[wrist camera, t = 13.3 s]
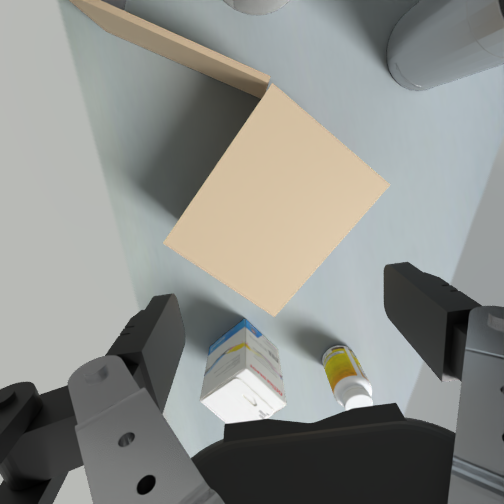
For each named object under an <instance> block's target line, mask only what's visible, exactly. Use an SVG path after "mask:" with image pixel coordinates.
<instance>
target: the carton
mask: <svg viewBox="0 0 504 504" xmlns="http://www.w3.org/2000/svg"><path fill="white" fill-rule="evenodd" d="M389 186H390V184H389V183H388V182H387V181H385V180H384V179H383V178H382V177H381V176H380V175H379V174H377V173H376V172H375V171H374V170H373V169H372V168H370V167H369V166H368V165H367V164H366V163H365V162H363V161H362V160H361V159H360V158H359V157H358V156H357V155H355V154H354V153H353V152H352V151H351V150H350V149H348V148H347V147H346V146H345V145H344V144H343V143H341V142H340V141H339V140H338V139H337V138H336V137H335V136H333V135H332V134H331V133H330V132H329V131H328V130H326V129H325V128H324V127H323V126H322V125H321V124H319V123H318V122H317V121H316V120H315V119H314V118H312V117H311V116H310V115H309V114H308V113H307V112H306V111H304V110H303V109H302V108H301V107H300V106H299V105H297V104H296V103H295V102H294V101H293V100H292V99H290V98H289V97H288V96H287V95H286V94H285V93H284V92H282V91H281V90H280V89H279V88H278V87H277V86H275V85H274V84H273V83H272V84H271V86H270V87H269V89H268V90H267V92H266V93H265V95H264V96H263V98H262V99H261V100H260V102H259V103H258V105H257V106H256V108H255V109H254V111H253V112H252V114H251V115H250V117H249V118H248V119H247V121H246V122H245V124H244V125H243V127H242V128H241V130H240V131H239V133H238V134H237V136H236V137H235V138H234V140H233V141H232V143H231V144H230V146H229V147H228V149H227V150H226V152H225V153H224V155H223V156H222V157H221V159H220V160H219V162H218V163H217V165H216V166H215V168H214V169H213V171H212V172H211V174H210V175H209V176H208V178H207V179H206V181H205V182H204V184H203V185H202V187H201V188H200V190H199V191H198V193H197V194H196V195H195V197H194V198H193V200H192V201H191V203H190V204H189V206H188V207H187V209H186V210H185V212H184V213H183V214H182V216H181V217H180V219H179V220H178V222H177V223H176V225H175V226H174V228H173V229H172V231H171V232H170V233H169V235H168V236H167V238H166V239H165V241H164V242H163V244H165V245H166V246H168V247H169V248H171V249H172V250H174V251H175V252H177V253H178V254H180V255H181V256H183V257H184V258H186V259H188V260H189V261H191V262H192V263H194V264H195V265H197V266H198V267H200V268H201V269H203V270H204V271H206V272H207V273H209V274H210V275H212V276H213V277H215V278H216V279H218V280H219V281H221V282H222V283H224V284H225V285H227V286H228V287H230V288H231V289H233V290H234V291H236V292H237V293H239V294H240V295H242V296H243V297H245V298H246V299H248V300H249V301H251V302H252V303H254V304H255V305H257V306H258V307H260V308H262V309H263V310H265V311H266V312H268V313H269V314H271V315H272V316H274V317H275V316H276V315H277V314H278V313H279V311H280V310H281V309H282V308H283V307H284V306H285V305H286V303H287V302H288V301H289V300H290V299H291V298H292V297H293V295H294V294H295V293H296V292H297V291H298V290H299V289H300V287H301V286H302V285H303V284H304V283H305V282H306V281H307V279H308V278H309V277H310V276H311V275H312V274H313V273H314V271H315V270H316V269H317V268H318V267H319V266H320V265H321V263H322V262H323V261H324V260H325V259H326V258H327V257H328V255H329V254H330V253H331V252H332V251H333V250H334V249H335V247H336V246H337V245H338V244H339V243H340V242H341V241H342V239H343V238H344V237H345V236H346V235H347V234H348V233H349V231H350V230H351V229H352V228H353V227H354V226H355V225H356V223H357V222H358V221H359V220H360V219H361V218H362V217H363V215H364V214H365V213H366V212H367V211H368V210H369V209H370V207H371V206H372V205H373V204H374V203H375V202H376V201H377V199H378V198H379V197H380V196H381V195H382V194H383V193H384V191H385V190H386V189H387V188H388V187H389Z"/></svg>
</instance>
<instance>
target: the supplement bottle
mask: <svg viewBox="0 0 504 504" xmlns="http://www.w3.org/2000/svg"><path fill="white" fill-rule="evenodd" d="M322 362H323V366H324V369H325V372H326V375H327V377H328V380H329V383H330V386H331V388H332V391H333V394H334V397H335V399H336V401H337V402H338V403H339V404H340V405H342V406H344V408H345V410H346V411H347V410H350V409H352V408H359V407H367V406H373V401H372V399H371V395H372V387H371V384H370V382H369V380H368V379H367V377H366V375H365V373H364V371H363V369H362V367H361V365H360V363H359V362H358V360H357V358H356V356H355V354H354V353H353V351H352V350H351V349H350V348H348V347H346V346H341V345H339V346H334V347H331V348H329V349H328V350H327V351H326V352H325V354H324V355H323V359H322Z"/></svg>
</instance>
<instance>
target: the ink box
mask: <svg viewBox="0 0 504 504" xmlns="http://www.w3.org/2000/svg"><path fill="white" fill-rule="evenodd" d="M200 401H201V402H202V403H203V404H204V405H205V406H206V407H207V408H209V409H210V410H211V411H212V412H213V413H214V414H216V415H217V416H218V417H219V418H220V419H221V420H222V421H224V422H225V423H226V424H228V423H236V422H245V421H253V420H261V419H267V418H269V417H270V416H272V415H273V414H275V413H276V412H278V411H279V410H281V409H282V408H284V407H285V406H286V405H287V402H286V396H285V390H284V384H283V378H282V372H281V365H280V359H279V352H278V349H277V348H276V347H275V346H274V345H273V344H272V343H271V342H270V341H269V340H267V339H266V338H265V337H264V336H263V335H262V334H261V333H260V332H259V331H258V330H257V329H256V328H255V327H254V326H252V325H251V324H250V323H249V322H248V321H247V320H246V319H243V320H242V321H241V322H240V323H238V324H237V325H236V326H234V327H233V328H232V329H231V330H229V331H228V332H227V333H226V334H224V335H223V336H222V337H221V338H219V339H218V340H217V341H216V342H215V343H214V344H212V345H211V346H210V348H209V354H208V359H207V364H206V370H205V375H204V380H203V385H202V391H201V396H200Z"/></svg>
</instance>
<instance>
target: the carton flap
mask: <svg viewBox="0 0 504 504" xmlns="http://www.w3.org/2000/svg"><path fill="white" fill-rule="evenodd" d="M69 1H70V2H72V3H73V4H74V5H75V6H76V7H78V8H79V9H80V10H81V11H82V12H84V13H85V14H86V15H87V16H88V17H89V18H91V19H92V20H93V21H94V22H95V23H97V24H98V25H99V26H100V27H101V28H103V29H104V30H105V31H106V32H108V33H111V34H113V35H115V36H118V37H120V38H122V39H125V40H127V41H129V42H131V43H134V44H136V45H138V46H141V47H143V48H145V49H148V50H150V51H152V52H154V53H157V54H159V55H161V56H164V57H166V58H168V59H171V60H173V61H175V62H177V63H180V64H182V65H184V66H187V67H189V68H191V69H194V70H196V71H198V72H200V73H203V74H205V75H207V76H210V77H212V78H214V79H216V80H219V81H221V82H223V83H226V84H228V85H230V86H233V87H235V88H237V89H239V90H242V91H244V92H246V93H249V94H251V95H253V96H256V97H258V98H260V99H262V98H263V96H264V95H265V92H266V89H267V86H268V83H269V80H270V76H269V75H267V74H264V73H262V72H260V71H258V70H255V69H253V68H251V67H249V66H246V65H244V64H242V63H240V62H237V61H235V60H233V59H231V58H229V57H226V56H224V55H222V54H220V53H217V52H215V51H213V50H211V49H208V48H206V47H204V46H202V45H199V44H197V43H195V42H193V41H191V40H188V39H186V38H184V37H182V36H179V35H177V34H175V33H173V32H170V31H168V30H166V29H164V28H161V27H159V26H157V25H155V24H153V23H150V22H148V21H146V20H144V19H141V18H139V17H137V16H135V15H132V14H130V13H128V12H126V11H124V7H125V2H126V0H69Z"/></svg>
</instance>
